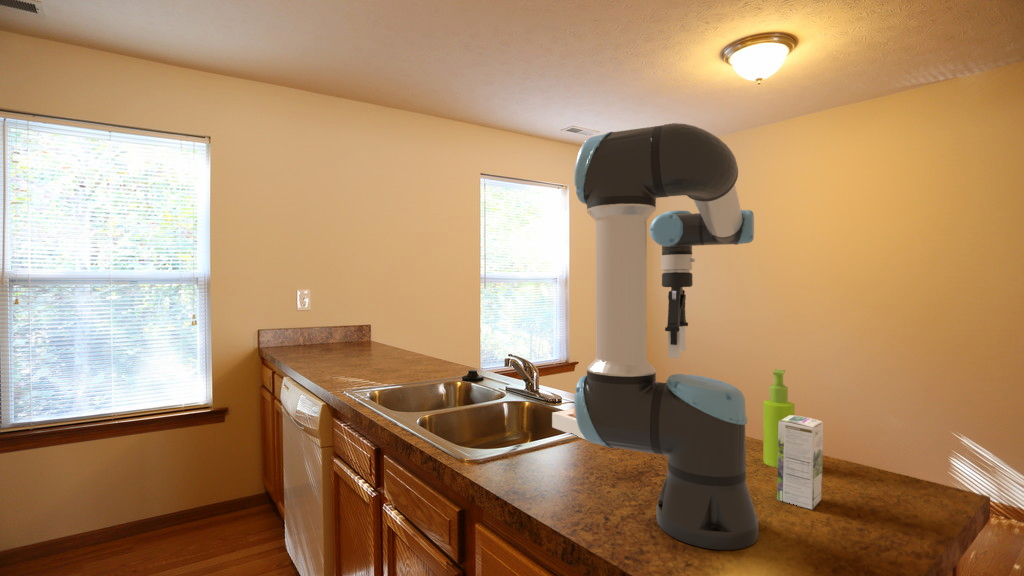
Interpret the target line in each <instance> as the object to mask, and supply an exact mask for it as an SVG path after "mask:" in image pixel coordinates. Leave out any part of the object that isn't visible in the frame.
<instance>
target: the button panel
mask: <svg viewBox="0 0 1024 576" xmlns="http://www.w3.org/2000/svg"><path fill="white" fill-rule="evenodd" d="M551 427H552V428H554V429H556V430H558V431H562V432H564V433H567V434H569V433H574V434H576V435H577V436H578V437H577V436H576V437H577V438H580V439H583V440H585V441H587V440H586V438H585V437H584V436H583V434H582V433H581V432H580V429H579V427H578V424H577V420H576V418H574V417H573V408H570V409H569V408H568V409H564V410H560V411H555V412H554V411H553V412H551Z"/></svg>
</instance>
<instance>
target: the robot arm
mask: <svg viewBox="0 0 1024 576" xmlns="http://www.w3.org/2000/svg"><path fill="white" fill-rule="evenodd" d="M573 174H574V179H573V180H574V187H575V192H576V197H577V198H578V200H579V202H581V203H582V204H585V205H586V213H587V214H588V215H589V216H591V218H592V219H593V220H594V222H595V357H594V358H595V359H594V360H593V361H592V362H591V363H590V364H589V365H588V366H587V367H586V374H585V375H583V376H581V377H580V378H579V379H578V381H577V383H576V385H575V391H576V392H575V393H574V400H573V401H574V404H573V405H574V406H573V407H575V415H576V420H577V424H578V427H579V429H580V432H581V433H582V434H583V436H584V437H585V438H586V440H585V441H588V442H590V443H592V444H596V445H600V446H603V447H606V448H610V449H614V448H616V449H621V450H629V451H636V452H640V453H641V452H643V453H647V454H655V455H662V456H666V457H667V474H666V477H665V480H664V482H663V486H662V488H661V491H660V494H659V496H658V499H657V503H656V516H655V517H656V519H655V520H656V523H657V525H658V527H659V528H660V529H661V530H662V531H663V532H664V533H666V534H667V535H669V536H670V537H672V538H674V539H675V540H679V542H681V543H685V544H688V545H692V546H695V547H699V548H704V549H709V550H718V551H720V550H721V551H730V550H740V549H745V548H747V547H750V546H752V545H754V544H755V543H756V542H757V541H758V539H759V518H758V515H757V514H756V511H755V507H754V504H753V500H752V498H751V495H750V491H749V488H748V486H747V475H746V474H747V468H746V467H747V463H746V462H747V460H746V459H747V457H746V456H747V455H746V453H747V451H746V450H747V449H746V448H747V447H746V424H747V423H748V417H747V415H746V413H747V412H746V400H745V395H744V394H743V392H742V391H741V390H740V389H739V388H738V387H736V386H734V385H732V384H730V383H729V382H728V383H727V381H726V382H725V381H723V380H719V379H715V378H712V377H706V376H701V375H695V374H684V373H683V374H682V373H673V374H670V375H669V376H668V377H667V379H666V381H665V382H660V381H657V380H656V375H657V373H656V368H654V366H653V365H652V364H651V363H650V362H649V361H648V359H647V297H648V295H647V285H648V284H647V278H648V277H647V276H648V275H647V274H648V273H647V258H648V257H647V254H648V253H647V251H648V250H647V241H648V240H647V239H648V238H647V237H648V236H647V235H648V233H647V227H648V226H647V221H648V219H649V217H651V216H652V215H653V213H655V211H656V210H657V199H658V198H669V197H679V196H686V197H688V198H689V199H690V200H693V201H694V203H695V206H696V208H697V211H698V213H697V212H695V213H691V211H689V210H670V211H665V212H663V213H662V214H659V215H657V216H656V217H654V218H653V220H652V221H651V223H650V226H649V234H650V237H651V239H652V240H653V241H654V243H656V244H657V245H659V246H661V271H662V274H661V286H662V287H663V288H671V290H669V291H668V296H667V299H668V305H667V306H668V308H667V309H668V310H667V311H668V313H667V324H666V327H664V331H665V332H668V335H667V339H668V341H667V345H668V346H667V348H668V349H667V350H668V352H667V353H668V354H667V355H668V357H667V358H668V359H681V352H685V351H686V327H688V326H689V322H688V321H687V319H686V299H687V298H686V294H685V293H686V291H685V289H683V288H691V287H693V273H692V272H690V271H692V270H693V263H695V261H696V259H695V258H693V247H694V246H720V245H721V246H722V245H734V246H736V245H737V246H738V245H743V244H750V243H752V242H753V241H754V237H755V215H754V212H753V211H752V210H750V209H742V208H741V205H740V201H739V197H738V193H737V187H736V183H737V181H738V178H739V177H738V176H739V168H738V162H737V159H736V156H735V155H734V152H733V151H732V150H731V149H730V148H729V146H728V144H726V143H725V142H724V141H722V140H721V139H720V138H719V137H717V136H716V135H715V134H713V133H712V132H709V131H707V130H705V129H703V128H700V127H698V126H696V125H691V124H687V123H679V122H678V123H677V122H674V123H666V124H662V125H654V126H648V127H642V128H641V127H640V128H633V129H627V130H620V131H618V130H617V131H610V132H606V133H603V134H598V135H595V136H591V137H589V138H587V139H586V140H585V141H584V142H583V144H582V145H581V147H580V149H579V150H578V154H577V157H576V160H575V166H574V173H573Z"/></svg>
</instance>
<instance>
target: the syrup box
mask: <svg viewBox="0 0 1024 576" xmlns="http://www.w3.org/2000/svg"><path fill="white" fill-rule="evenodd" d="M823 449H824V422H823V421H822V420H819V419H815V418H813V417H807V416H802V415H794V416H793V415H789V416H788V417H786V418H784V419H782V420H780V421H779V436H778V468H777V485H776V486H777V491H776V492H777V493H776V494H777V495H776V498H777V501H779V502H782V501H783V502H782V503H786V504H789V503H790V505H793V504H794V506H796V505H797V507H801V508H804V509H807V510H814V509H815V507H817V506H818V504H819V503H821V501H822V499H823V459H824V458H823V453H824V450H823Z"/></svg>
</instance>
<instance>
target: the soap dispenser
mask: <svg viewBox="0 0 1024 576" xmlns="http://www.w3.org/2000/svg"><path fill="white" fill-rule="evenodd" d="M785 373H786V370H785V369H778V368H777V369H776V368H775V369H773V371H772V375H773V376H774V379H773V384H771V385H770V386H769V399H767V400H763V403H762V406H763V412H762V413H763V417H762V418H763V419H762V420H763V423H762V425H763V426H762V427H763V434H762V435H763V437H762V438H763V439H762V440H763V445H762V446H763V447H762V448H763V455H762V456H763V460H762V461H763V462H762V463H764V464H765V465H766V466H769V467H771V468H776V469H778V436H779V421H780V420H782V419H784V418H786V417H788V416H789V415H793V416H795V404H794V403H793V402H791V401H789V398H788V396H789V395H788V393H789V391H788V390H789V389H788V387H787V386H786V385H785V384H784V375H785Z"/></svg>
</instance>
